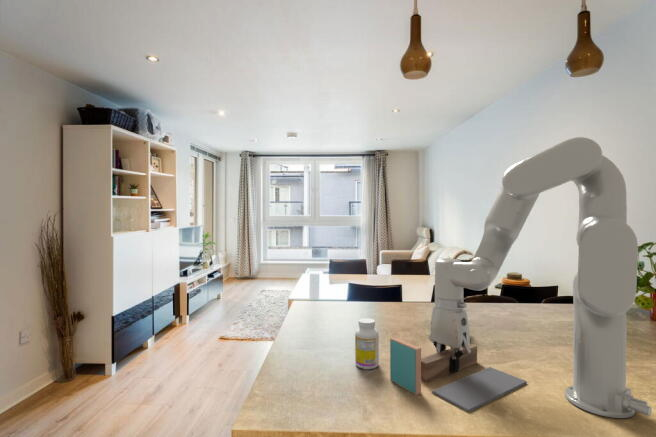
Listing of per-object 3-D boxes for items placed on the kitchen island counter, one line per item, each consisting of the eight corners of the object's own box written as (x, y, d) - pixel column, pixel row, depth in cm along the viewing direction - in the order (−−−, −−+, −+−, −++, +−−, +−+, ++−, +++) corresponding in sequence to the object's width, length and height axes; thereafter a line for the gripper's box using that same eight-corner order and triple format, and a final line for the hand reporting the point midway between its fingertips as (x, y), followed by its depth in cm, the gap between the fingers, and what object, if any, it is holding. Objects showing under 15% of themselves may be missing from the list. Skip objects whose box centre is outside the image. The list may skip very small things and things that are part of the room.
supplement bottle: (363, 358, 106) (363, 315, 105) (382, 364, 101) (383, 319, 101) (350, 365, 100) (350, 320, 100) (370, 372, 96) (370, 325, 96)
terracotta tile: (421, 393, 85) (421, 347, 85) (415, 395, 84) (415, 349, 84) (394, 378, 93) (394, 337, 92) (389, 380, 92) (389, 338, 91)
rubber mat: (526, 383, 90) (526, 381, 90) (468, 412, 77) (468, 409, 77) (490, 369, 98) (490, 366, 98) (432, 393, 85) (432, 390, 85)
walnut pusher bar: (477, 362, 103) (477, 345, 103) (426, 382, 90) (426, 363, 90) (467, 359, 105) (468, 342, 105) (417, 378, 93) (417, 359, 93)
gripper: (484, 308, 93) (483, 377, 93) (434, 296, 106) (434, 356, 107) (466, 312, 89) (466, 385, 89) (417, 299, 102) (416, 362, 103)
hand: (448, 368), depth 98 cm, fingers closed on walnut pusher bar, 3 cm apart
